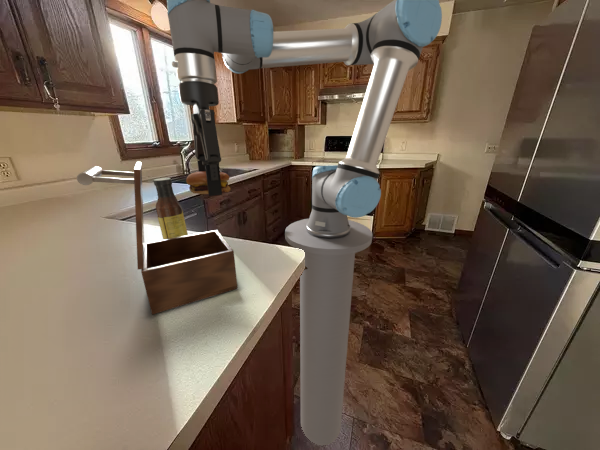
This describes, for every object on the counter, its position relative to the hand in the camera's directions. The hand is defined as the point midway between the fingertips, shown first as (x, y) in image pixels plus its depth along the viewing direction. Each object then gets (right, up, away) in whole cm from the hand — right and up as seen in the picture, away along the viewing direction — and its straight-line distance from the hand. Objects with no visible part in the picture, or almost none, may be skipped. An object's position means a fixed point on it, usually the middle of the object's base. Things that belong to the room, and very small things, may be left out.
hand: (210, 190), depth 58 cm
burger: (0, 0, 0) cm, 0 cm away
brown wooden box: (-2, -21, -5) cm, 22 cm away
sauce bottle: (-14, -15, +12) cm, 24 cm away
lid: (-7, -6, -13) cm, 16 cm away
